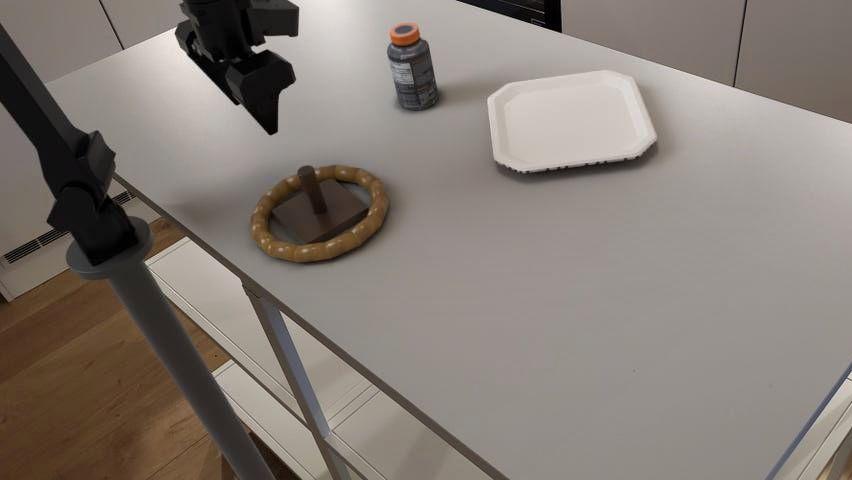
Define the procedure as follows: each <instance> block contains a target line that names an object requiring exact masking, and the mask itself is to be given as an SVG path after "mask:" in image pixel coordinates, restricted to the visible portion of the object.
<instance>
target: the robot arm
mask: <svg viewBox="0 0 852 480" xmlns="http://www.w3.org/2000/svg"><path fill="white" fill-rule="evenodd" d="M178 5H179V8H180V11H181V13H182V14H183V15H184V16H185V17H187V18H188V19H185V20H183V21H180V22H178V24H177V26H176V28H175V31H174V33H173V34H174V36H175V39H176V42H177V43H178V47H179V48H180V49H181V50H182V51H183V52H184V53H185V54H186V56H187V57H188V59H190V60H191V61H192V62H193V63H194V64H195V65H196V66H197V67H198V69H200V70H201V71H202V72H203V74H204V75H205V76H206V77H207V78H208V79H209V80H210V81H211V82H212V83H213V84H214V85H215V86H216V88H218V89H219V90H220V91H221V92H222V93H223V94H224V95H225V96H226V98H228V100H229V101H230V102H231V103H232V104H233V105H234V106H242V107H243V108H244V109H245V110H246V111H247V113H248V114H249V115H250V116H251V117H252V118H253V120H255V122H256V123H257V124H258V125H259V126H260V128H261V129H263V130H264V132H266V134H267V135H269V136H273V135H276V134H277V133H278V132H279V103H280V95H281V93H282V91H284V90H286V89H288V88H289V87H290V86H291V85H294V84H296V81H297V77H296V73H295V70H294V67H293V63H291V62H290V61H288V60H287V59H286V58H284V57H283V56H281V55H280V54H278V53H277V52H274V51H273V50H270V49H268V48H266V49H264V50H262V51H260V52H256V51H254V50H253V48H252V47H256V48H257V47H259V46H262V45H264V44H266V43H267V41H266V37H283V36H284V37H285V36H287V37H289V38H296V37H298V36H299V27H300V7H299V5H297V4H295V3H294V2H292V1H291V0H182V2H181V3H178ZM0 104H1V106H2V107H3V108H4V109H5V110H6V112H7V113H8V115H9V116H10V117H11V118H12V120H13V122H14V123H15V124H16V125H17V126H18V127H19V129H20V130H21V132H22V133H23V134H24V135H25V137H26V139H28V140H29V142H30V144H32V146H33V147H34V149H35V151H36V153H37V158H38V161H39V165H40V169H41V173H42V177H43V181H44V182H45V184H46V186H47V188H48V190H49V191H50V193H51V195H52V197H53V198H54V202H53V204H52V206H51V209H50V211H49V213H48V216H47V217H46V220H45V221H46V223H47V225H49V226H50V227H51V228H53V229H54V230H55V231H56V232H58V233H67V232H69V233H70V235H71V237H72V239H73V240H74V239H75V241H76V244H77V246H78V247H79V249H80V250H81V252H82V253H83V255H84V256H85V258H86V259H87V261H88V262H89V264H90V265H91V266H96V265H98V264H100V263H102V262H104V261H106V260H108V259H109V258H111V257H113V256H115V255H117V254H119V253H121V252H123V251H124V250H126V249H128V248H130V247H132V246H134V245H136V244H137V243H138V242H139V240H138V238H137V237H136V236H135V234H134V232H135V230H136V229H135V228H134V226H133V224H132V222H131V221H130V219H129V217H128V216H129V215H128V214H127V212H126V210H125V209H124V207H123V206H122V205H121V203H120V202H119V201H118V200H117V199H112V197H110V195H109V194H108V193H109V192H108V191H109V189H110V188H111V187H110V186H111V183H112V180H113V177H114V175H115V172H116V168H117V165H116V161H115V158H116V155H117V153H116V151H114V150H113V149H111V148H110V147H109V146H108V144H107V143H106V141H105V139H104V136H103V135H102V132H100V131H99V130H98V129H96V130H93V131H91V132H89V133H88V132H85V131H84V130H81V129H80V128H78V127H76V126H75V125H74V124H73V123H72V122H71V121H70V120H69V118H68V116H67V115H66V114H65V112H64V111H63V109H62V108H61V107H60V105H59V104H58V102H57V101H56V99H55V98H54V96H53V95H52V93H51V92H50V91H49V90H48V88H47V86H46V85H45V84H44V83H43V81H42V79H41V78H40V77H39V75H38V74H37V73H36V71H35V69H34V68H33V67H32V65H31V64H30V63H29V61H28V60H27V58H26V57H25V55H24V54H23V53H22V51H21V50H20V49H19V47H18V46H17V44H16V42H15V41H14V40H13V38H12V37H11V35H10V34H9V33H8V31H7V29H5V27H4V26H3V24H2V23H1V22H0Z"/></svg>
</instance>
